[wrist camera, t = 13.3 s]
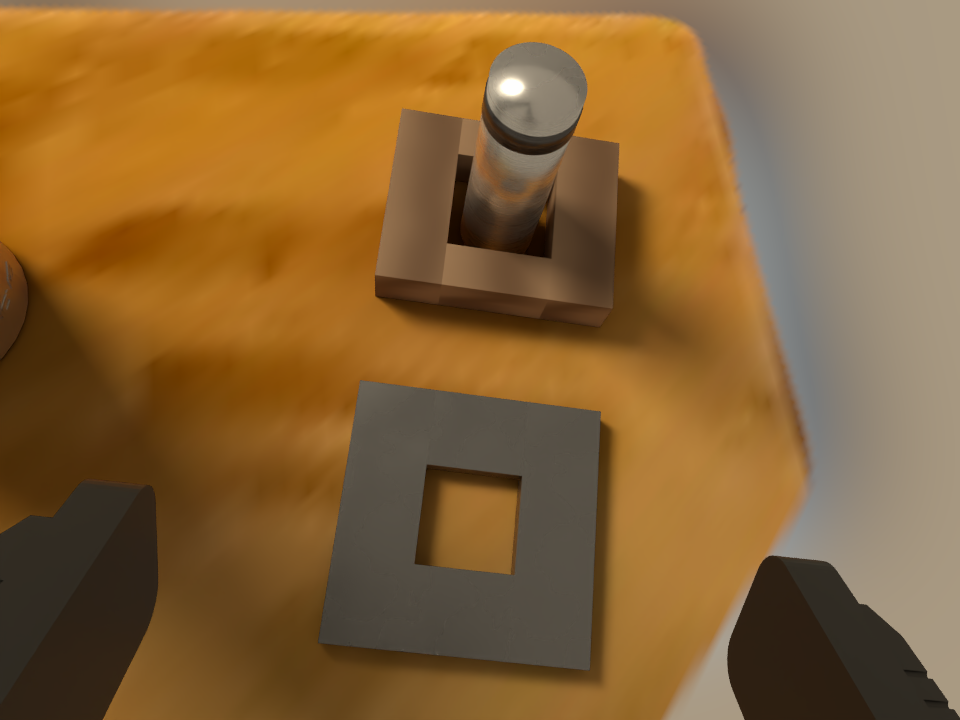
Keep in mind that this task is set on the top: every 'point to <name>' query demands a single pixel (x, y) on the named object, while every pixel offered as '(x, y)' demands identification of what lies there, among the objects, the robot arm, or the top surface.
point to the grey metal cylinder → (520, 144)
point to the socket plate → (455, 592)
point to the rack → (488, 273)
